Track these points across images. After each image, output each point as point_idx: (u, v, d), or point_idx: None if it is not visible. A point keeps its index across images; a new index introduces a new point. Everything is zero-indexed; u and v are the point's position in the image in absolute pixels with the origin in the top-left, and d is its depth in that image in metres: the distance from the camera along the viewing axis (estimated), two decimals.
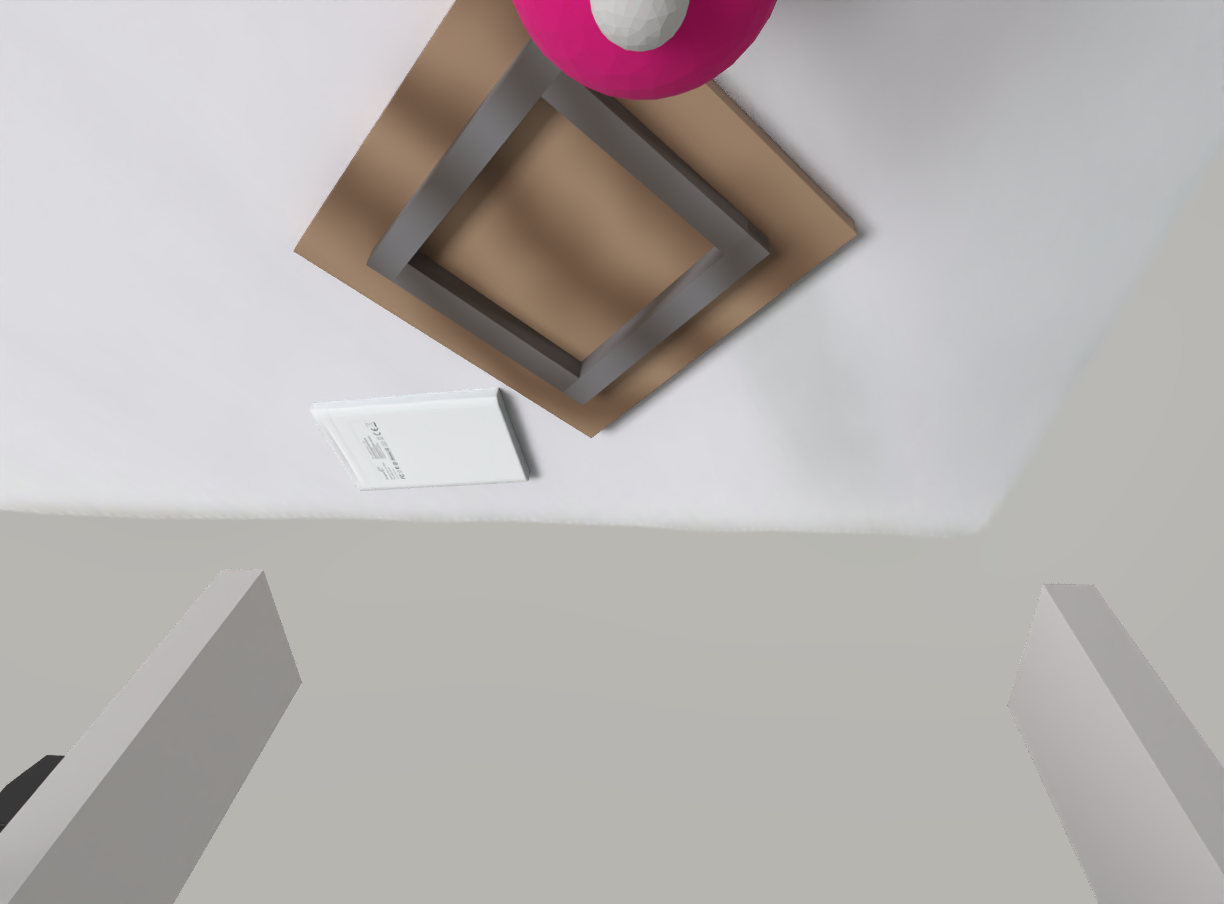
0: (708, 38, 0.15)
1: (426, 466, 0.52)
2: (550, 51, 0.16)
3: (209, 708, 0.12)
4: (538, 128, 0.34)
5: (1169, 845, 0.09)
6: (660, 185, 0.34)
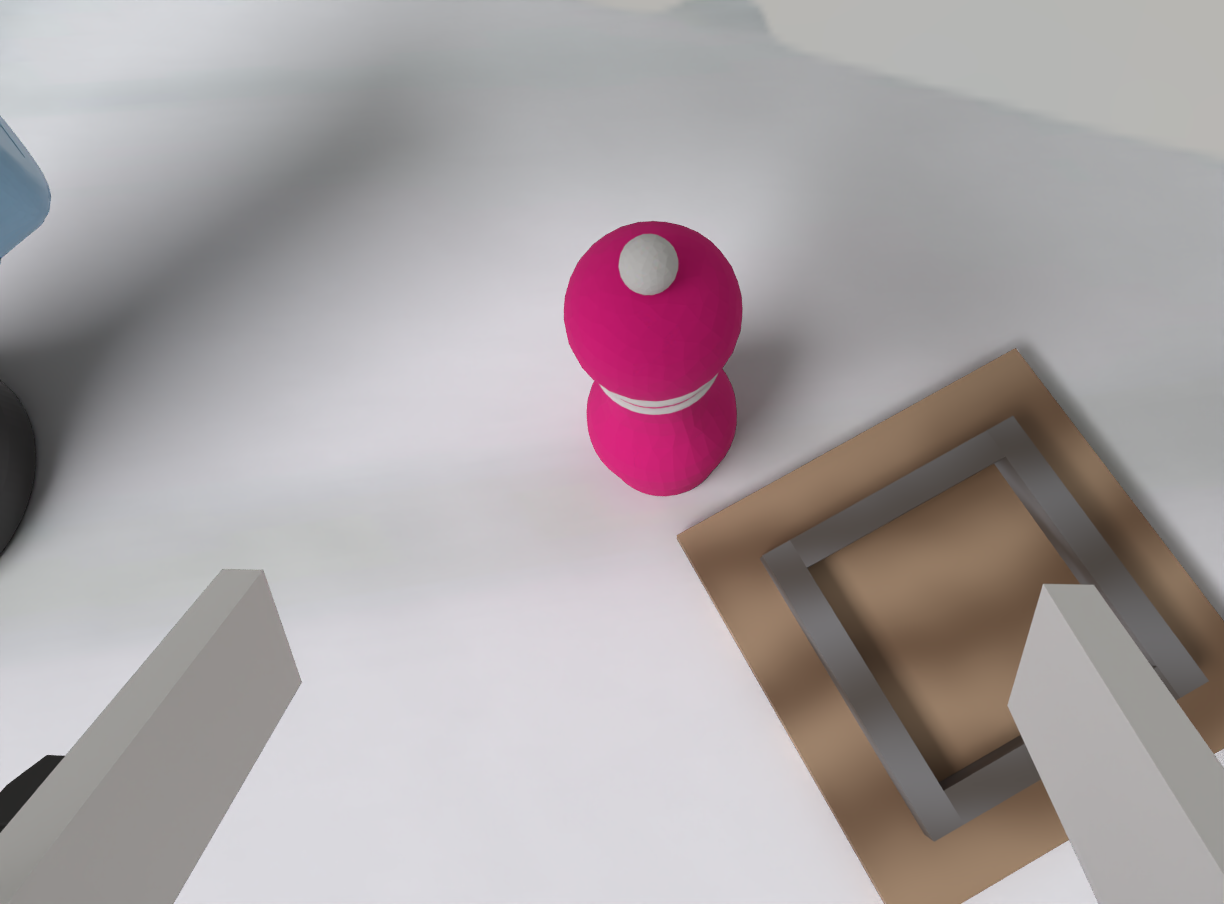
0: (696, 253, 0.24)
1: None
2: (678, 357, 0.24)
3: (209, 708, 0.12)
4: (839, 593, 0.37)
5: (1169, 845, 0.09)
6: (915, 494, 0.37)
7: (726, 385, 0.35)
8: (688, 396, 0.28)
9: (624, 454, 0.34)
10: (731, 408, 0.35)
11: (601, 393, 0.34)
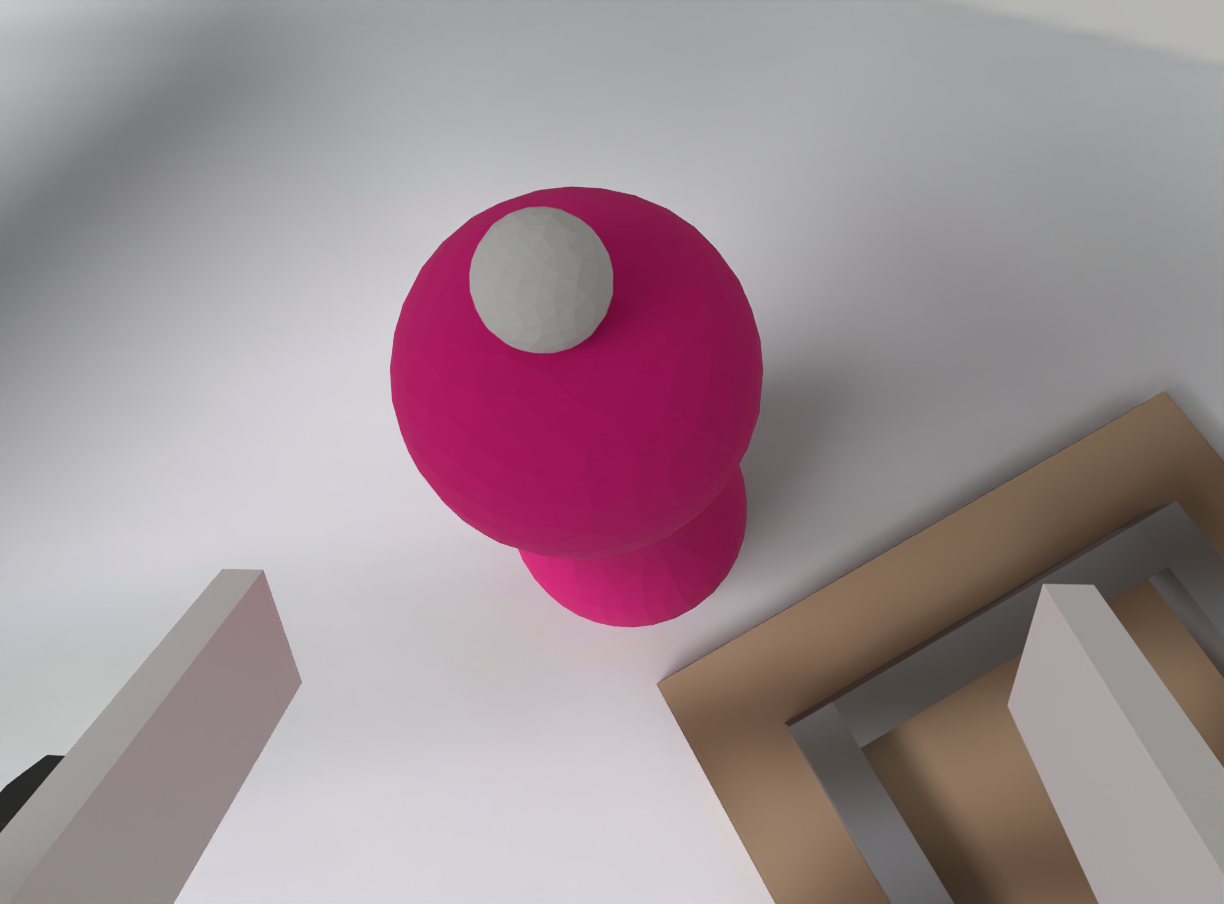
0: (660, 253, 0.11)
1: None
2: (621, 490, 0.10)
3: (209, 708, 0.12)
4: (910, 780, 0.24)
5: (1169, 846, 0.09)
6: (1028, 628, 0.23)
7: None
8: None
9: (563, 583, 0.21)
10: (738, 503, 0.22)
11: None
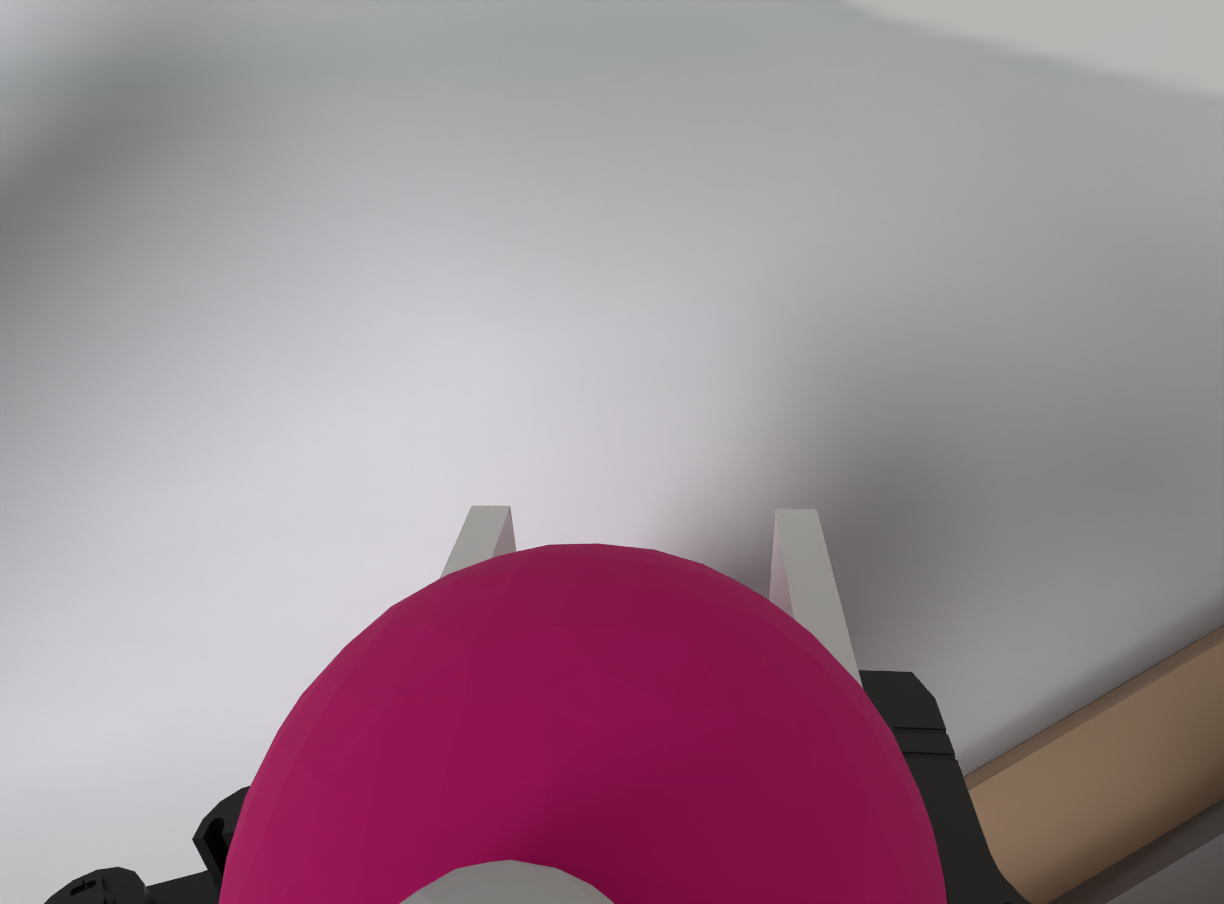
0: (773, 825, 0.05)
1: None
2: None
3: None
4: None
5: None
6: None
7: None
8: None
9: None
10: None
11: None
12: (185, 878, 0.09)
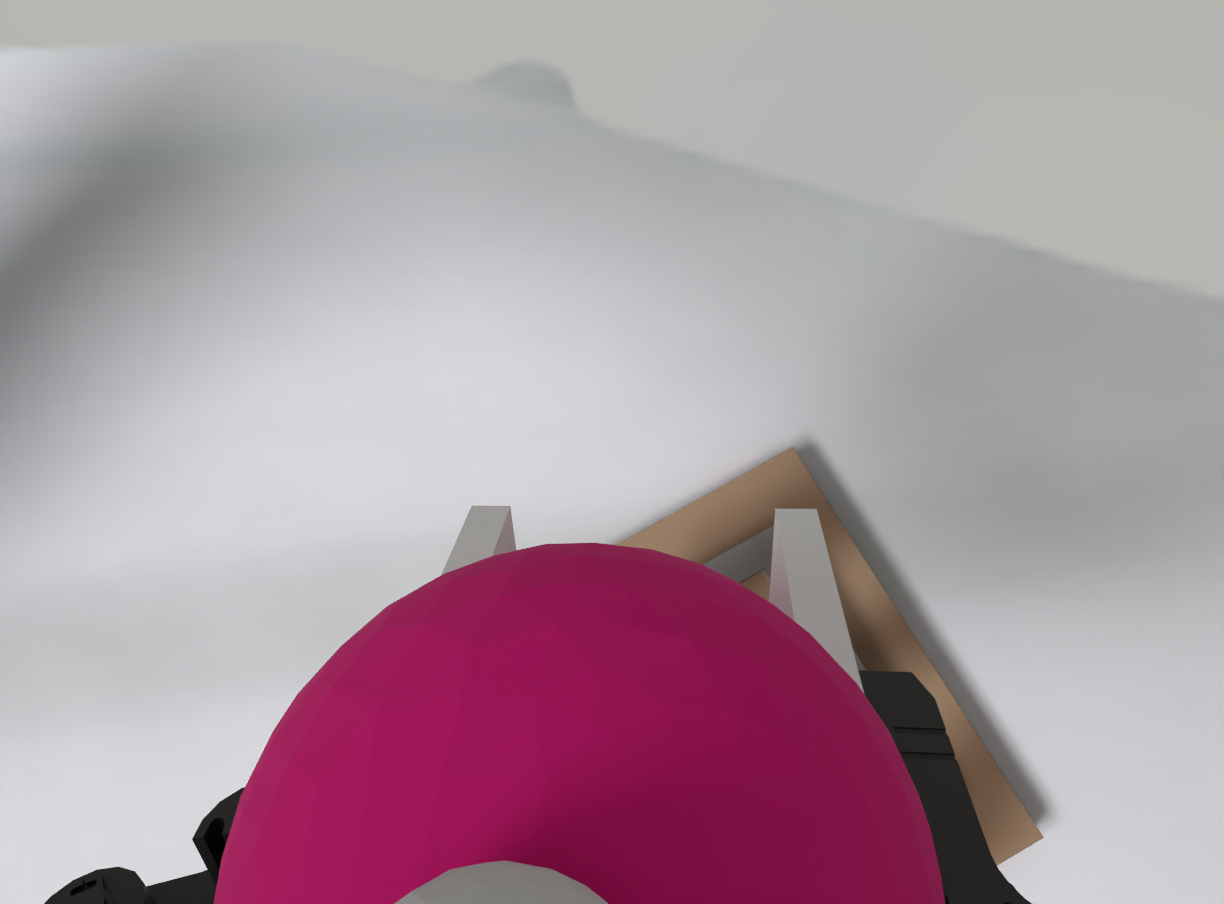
0: (769, 826, 0.05)
1: None
2: None
3: None
4: None
5: None
6: None
7: None
8: None
9: None
10: None
11: None
12: (185, 878, 0.09)
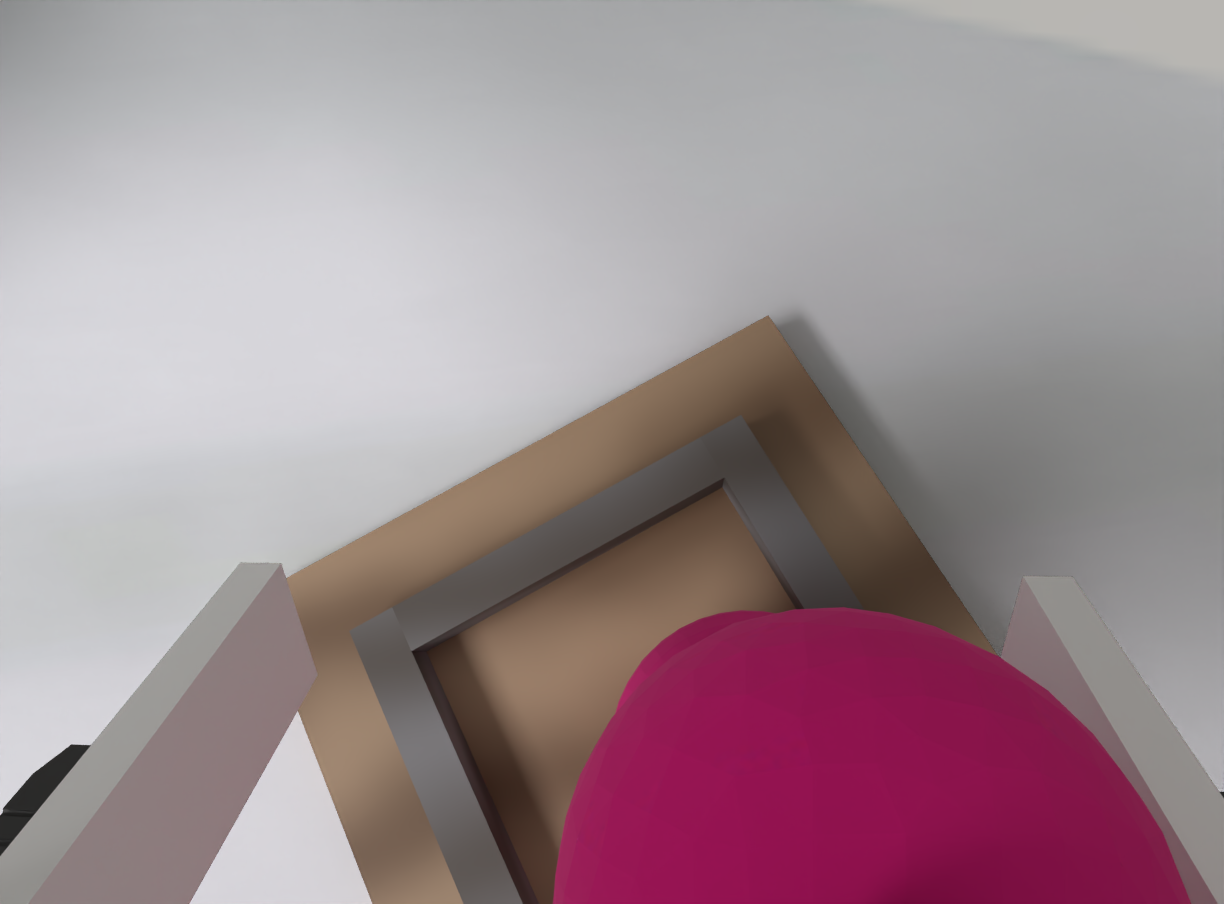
0: (1090, 868, 0.06)
1: None
2: None
3: (230, 699, 0.12)
4: (477, 687, 0.24)
5: None
6: (585, 537, 0.24)
7: None
8: None
9: None
10: None
11: None
12: None
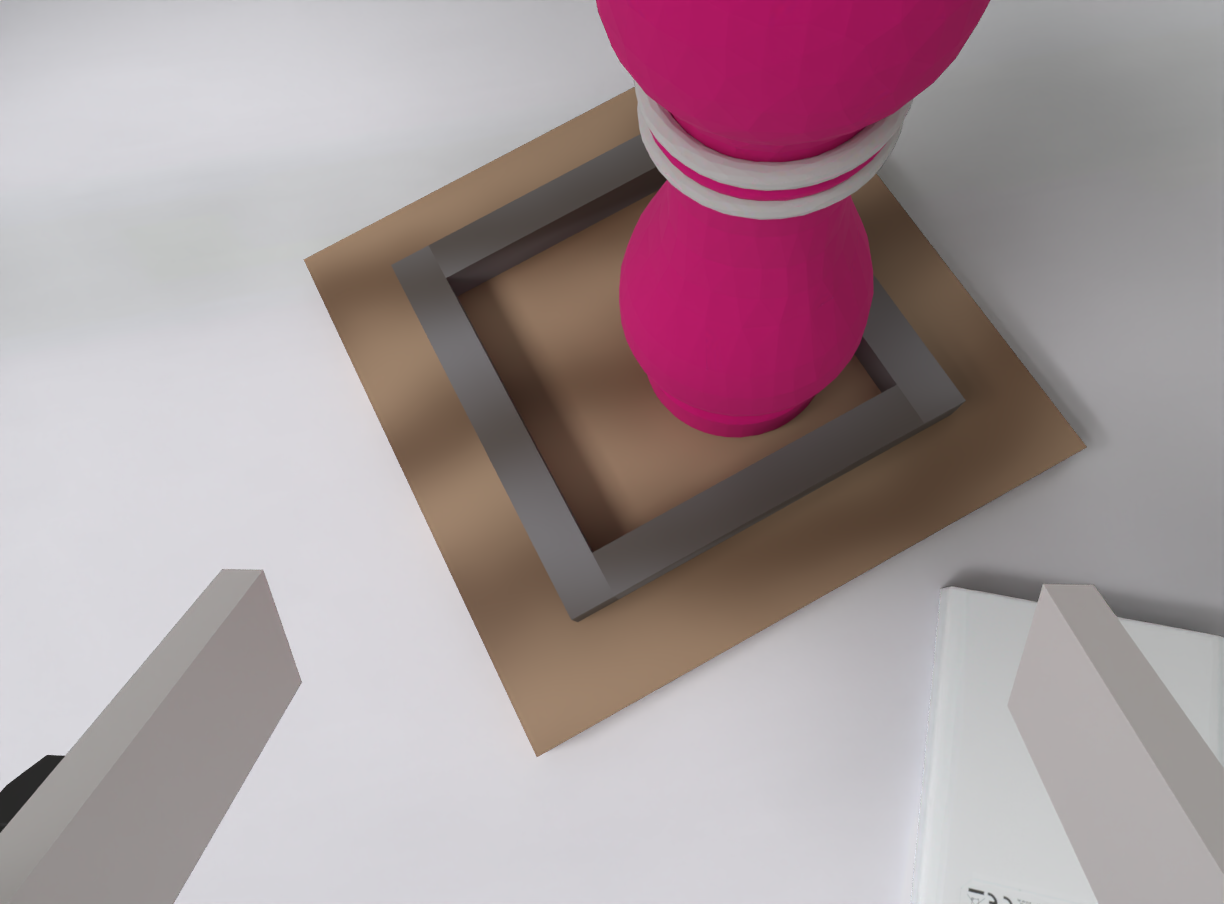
0: None
1: None
2: None
3: (209, 708, 0.12)
4: (502, 322, 0.28)
5: (1169, 845, 0.09)
6: (597, 184, 0.27)
7: None
8: (852, 162, 0.13)
9: (689, 345, 0.19)
10: (871, 267, 0.20)
11: (648, 238, 0.19)
12: None
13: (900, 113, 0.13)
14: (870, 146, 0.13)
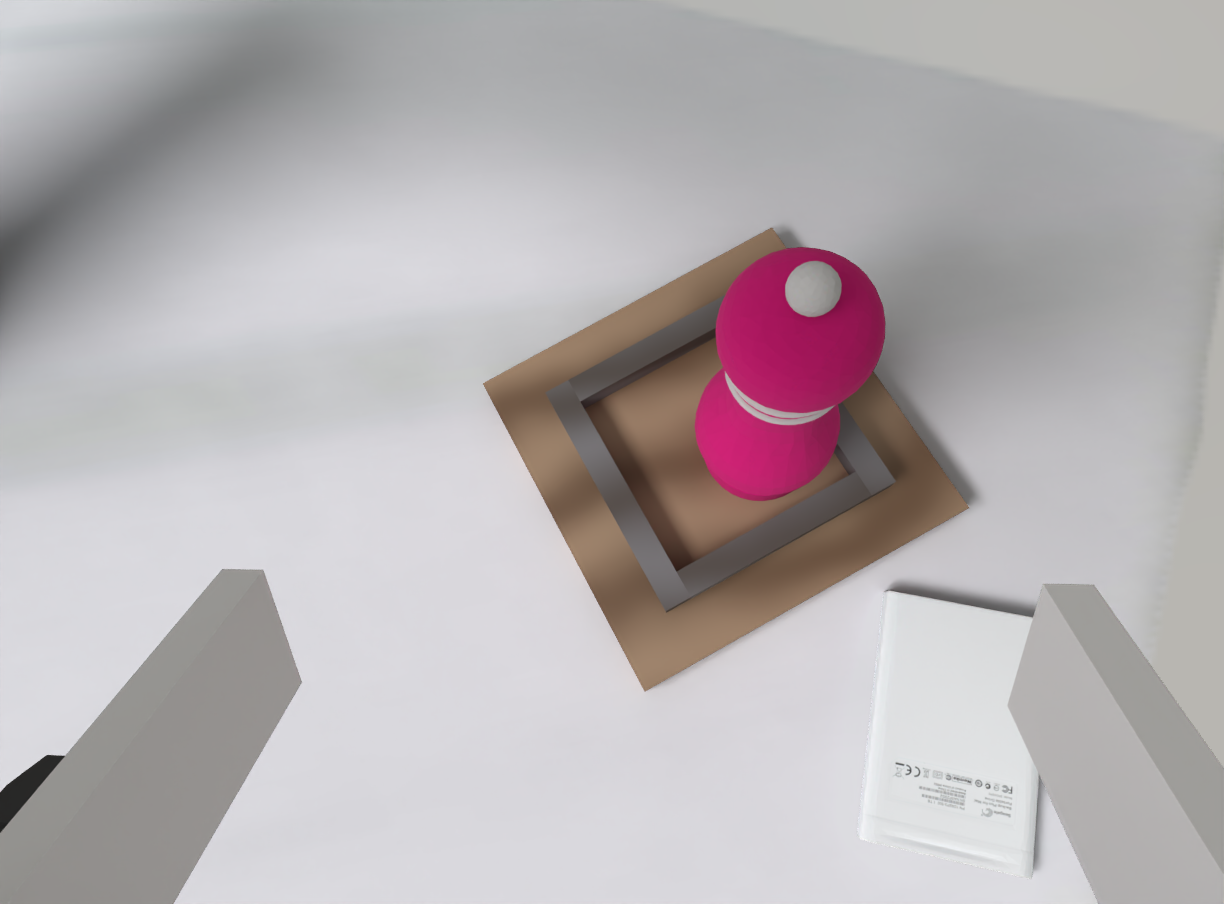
0: (849, 277, 0.26)
1: (991, 741, 0.38)
2: (835, 373, 0.26)
3: (209, 708, 0.12)
4: (612, 426, 0.44)
5: (1169, 845, 0.09)
6: (672, 342, 0.44)
7: None
8: None
9: (739, 461, 0.36)
10: (838, 417, 0.37)
11: (718, 404, 0.36)
12: None
13: None
14: None
